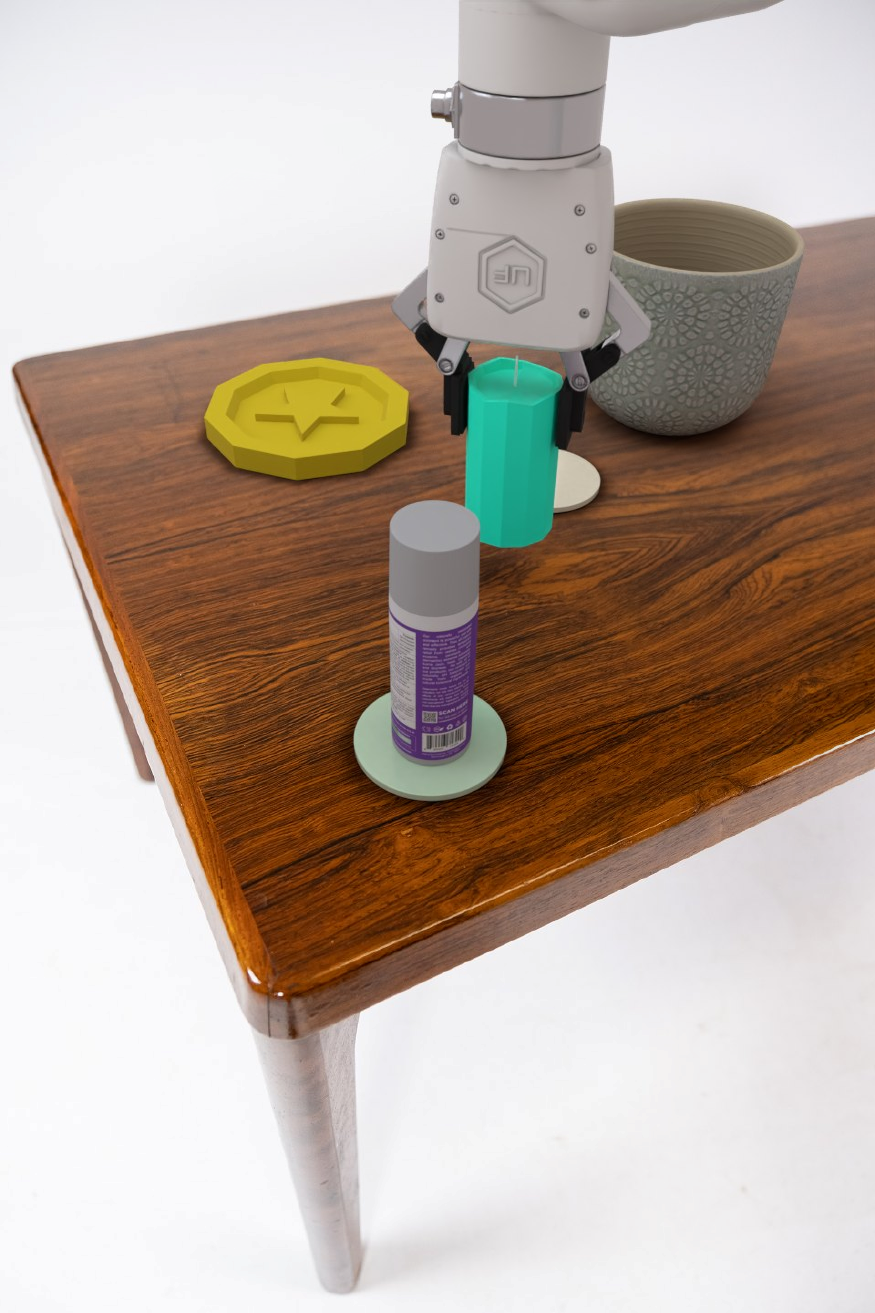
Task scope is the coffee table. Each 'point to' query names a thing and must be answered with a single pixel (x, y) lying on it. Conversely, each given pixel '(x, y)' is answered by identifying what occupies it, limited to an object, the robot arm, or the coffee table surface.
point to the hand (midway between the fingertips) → (513, 430)
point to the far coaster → (574, 482)
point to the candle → (512, 450)
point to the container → (433, 629)
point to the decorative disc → (308, 418)
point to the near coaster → (429, 780)
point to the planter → (697, 311)
